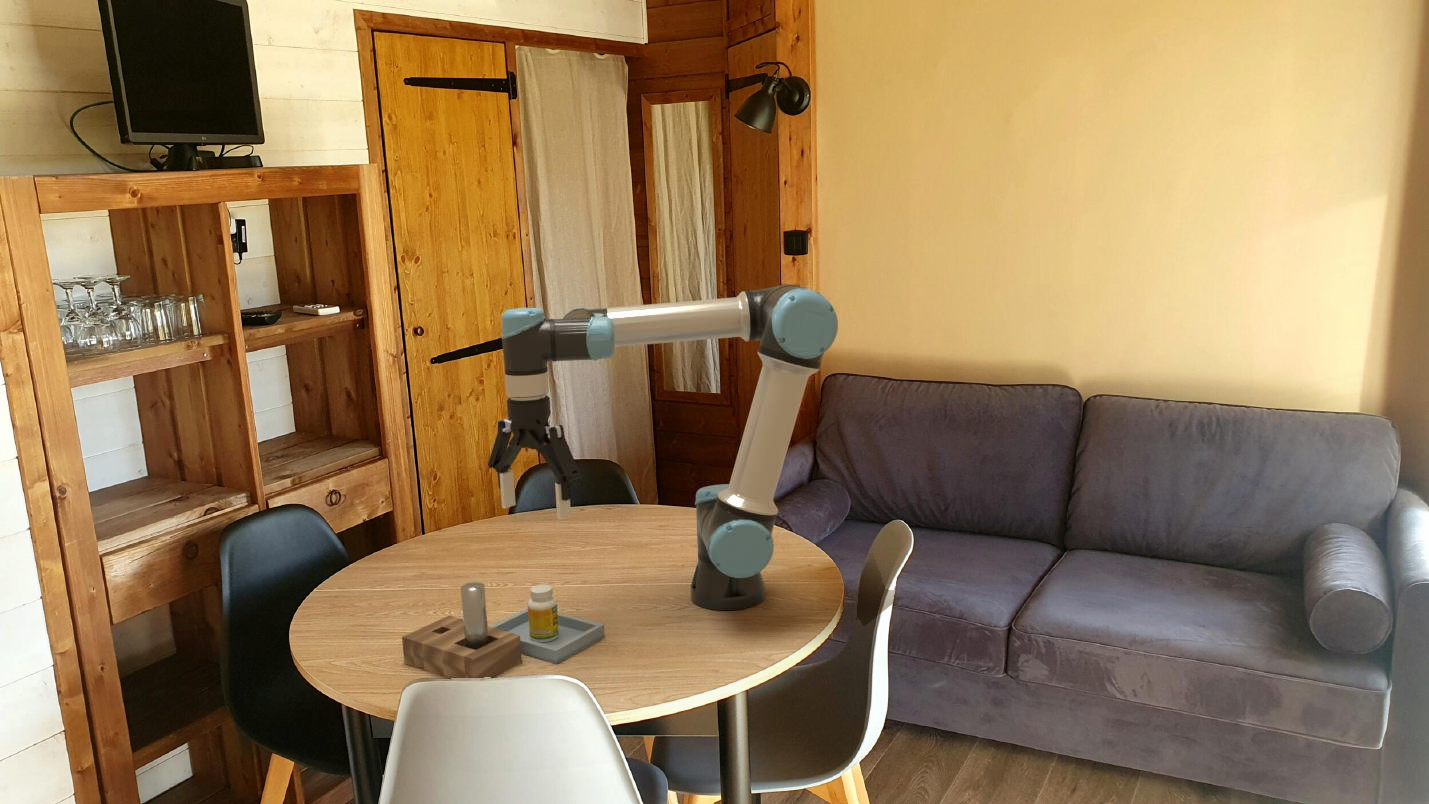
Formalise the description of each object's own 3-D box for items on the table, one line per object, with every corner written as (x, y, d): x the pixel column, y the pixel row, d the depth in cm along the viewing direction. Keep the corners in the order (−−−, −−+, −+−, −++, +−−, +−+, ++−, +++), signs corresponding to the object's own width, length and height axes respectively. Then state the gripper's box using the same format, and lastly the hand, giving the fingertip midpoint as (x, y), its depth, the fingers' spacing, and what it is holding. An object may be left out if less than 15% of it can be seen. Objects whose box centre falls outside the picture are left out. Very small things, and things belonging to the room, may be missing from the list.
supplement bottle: (531, 632, 194) (527, 583, 192) (559, 630, 194) (556, 582, 192) (528, 644, 189) (525, 594, 187) (558, 642, 189) (555, 592, 187)
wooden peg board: (521, 662, 183) (519, 635, 182) (475, 687, 174) (473, 659, 173) (451, 640, 193) (449, 615, 192) (404, 663, 184) (401, 636, 183)
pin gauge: (495, 665, 182) (489, 585, 179) (478, 674, 178) (471, 592, 176) (479, 660, 184) (473, 580, 181) (462, 669, 181) (455, 588, 178)
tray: (604, 637, 192) (604, 624, 192) (556, 664, 182) (556, 650, 181) (533, 618, 202) (532, 606, 202) (484, 642, 192) (483, 629, 191)
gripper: (596, 398, 179) (602, 516, 183) (493, 387, 193) (501, 497, 197) (566, 406, 173) (574, 527, 177) (462, 394, 187) (472, 507, 191)
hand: (535, 511), depth 187 cm, fingers open, 13 cm apart
